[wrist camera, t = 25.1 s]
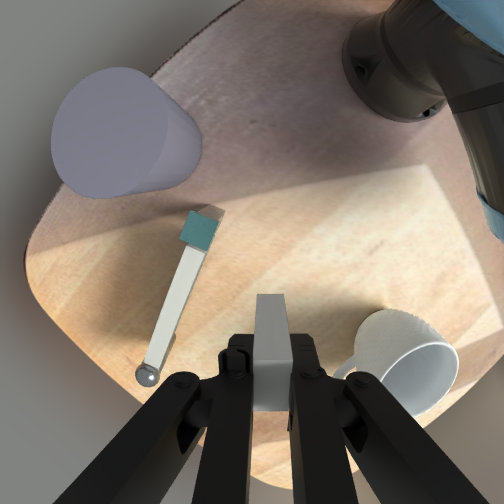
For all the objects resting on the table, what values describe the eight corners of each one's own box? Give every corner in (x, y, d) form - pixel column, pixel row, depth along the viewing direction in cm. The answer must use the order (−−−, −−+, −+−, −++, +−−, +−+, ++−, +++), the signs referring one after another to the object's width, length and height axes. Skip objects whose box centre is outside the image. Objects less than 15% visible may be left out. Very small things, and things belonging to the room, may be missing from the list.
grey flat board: (176, 331, 39) (158, 369, 30) (163, 325, 39) (143, 362, 30) (216, 235, 36) (204, 253, 27) (202, 229, 36) (186, 245, 27)
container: (137, 98, 33) (76, 60, 18) (214, 118, 33) (189, 80, 19) (111, 176, 35) (37, 180, 20) (185, 201, 36) (142, 217, 21)
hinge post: (160, 323, 39) (134, 367, 29) (179, 332, 40) (159, 378, 29) (155, 339, 40) (129, 385, 29) (173, 347, 40) (153, 395, 30)
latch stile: (208, 200, 36) (190, 210, 25) (229, 209, 36) (218, 222, 25) (200, 221, 36) (178, 239, 26) (220, 229, 36) (207, 251, 26)
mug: (339, 389, 42) (361, 451, 29) (303, 341, 40) (321, 404, 27) (421, 335, 40) (466, 383, 27) (396, 279, 38) (447, 320, 25)
